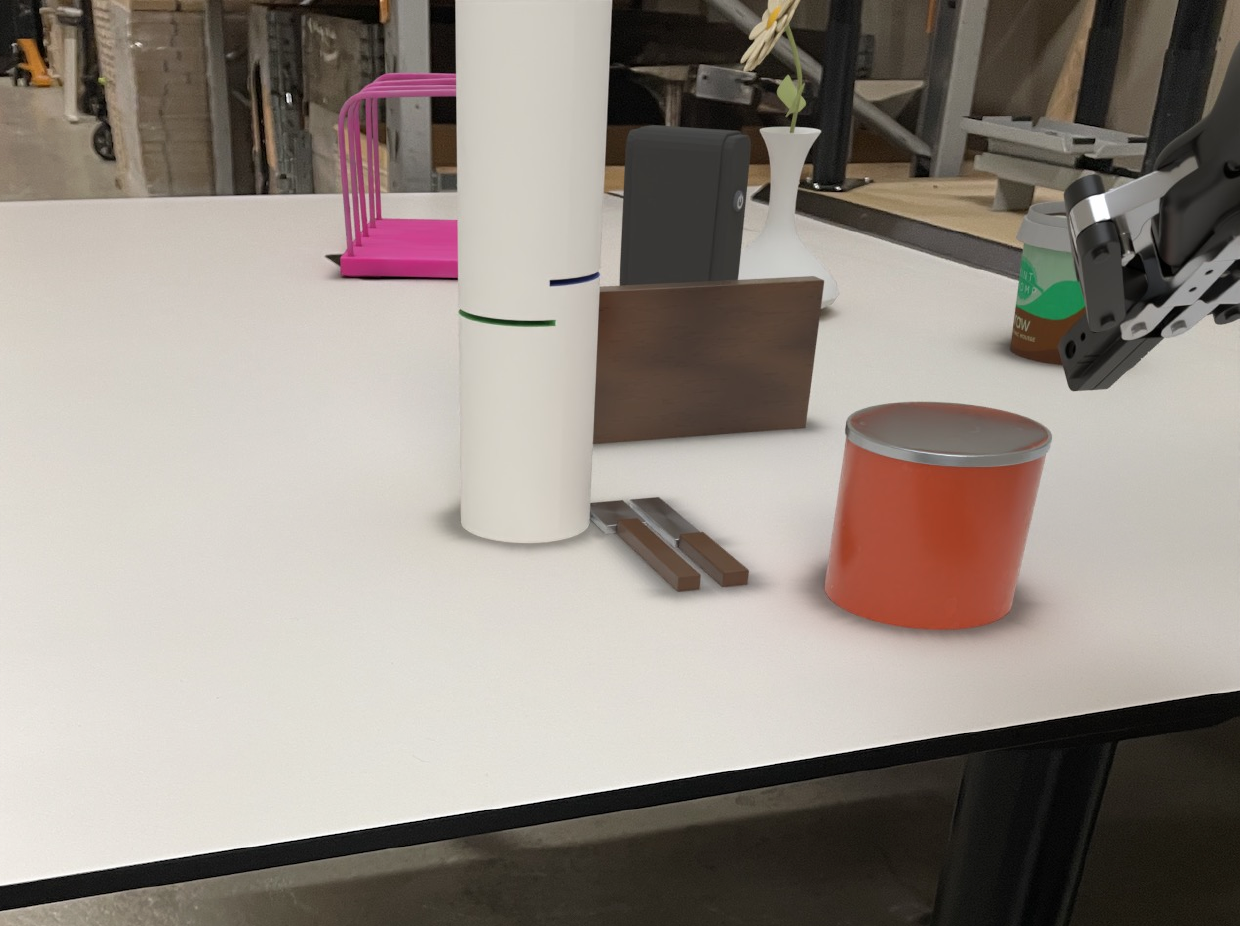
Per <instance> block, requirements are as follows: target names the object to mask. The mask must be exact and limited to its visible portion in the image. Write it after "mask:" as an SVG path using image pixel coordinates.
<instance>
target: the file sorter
mask: <svg viewBox="0 0 1240 926" xmlns="http://www.w3.org/2000/svg"><path fill="white" fill-rule="evenodd" d="M418 97H419V98H422V97H423V98H427V97H428V98H429V97H433V98H434V97H456V73H439V72H438V73H437V72H434V73H433V72H391V73H390V72H387V73H384V74H382V75H380V76H379V77H377V78H376V79H374V80H373V82H371V83H369V84H367V85H365V86H364V87H363V88H362V89H361V90H360V91H359V92H357V93H355V94H353V95H352V96H350V97H349V98H348V99H347V100H346V101H345V102H344V103H343V105H342V106H341V109H340V112H339V115H338V119H337V132H338V148H339V162H340V163H339V164H340V175H341V177H340V178H341V188H342V201H343V202H342V203H343V212H344V213H343V214H344V227H345V238H346V239H345V240H346V250H345V251H344V252H343V253H342V255H341V256H340V258H339V259H340V260H339V261H340V275H341V276H346V277H351V278H353V277H354V278H382V277H402V278H403V277H407V278H409V277H411V278H450V279H451V278H453V279H458V219H439V218H437V219H435V218H432V219H431V218H386V217H384V218H383V217H382V197H381V174H380V149H379V120H378V101H379V99H385V98H386V99H389V98H390V99H391V98H418ZM363 100H365V129H366V130H365V131H366V134H365V135H366V160H367V163H366V164H367V183H368V185H367V188H368V205H369V206H368V207H369V208H368V209H369V210H368V211H369V221H368V214H367V202H366V191H365V178H364V166H363V156H362V141H361V127H360V107H361V102H362V101H363ZM346 115H347V122H346V123H347V141H348V155H349V157H348V158H349V170H350V183H351V184H350V185H351V201H352V213H353V215H351V203H350V192H349V180H348V179H349V177H348V164H347V151H346V134H345V120H346ZM351 216H353V226H354V227H353V228H354V240H353V229H352V217H351ZM360 219H361V220H360ZM361 229H362V230H361Z"/></svg>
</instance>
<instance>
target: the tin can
mask: <svg viewBox="0 0 1240 926" xmlns="http://www.w3.org/2000/svg"><path fill="white" fill-rule="evenodd" d="M844 427H845V428H844V434H845V443H844V450H843V456H842V462H841V470H840V478H839V483H838V491H837V498H836V503H835V511H834V518H833V526H832V531H831V539H830V547H829V553H828V560H827V567H826V575H825V581H824V591H825V594H826V596H827V597H828V598H829V600H830V601H831V602H833V604H835V605H836V606H838V607H839V608H841V609H843V610H844V611H847V612H848V613H850V614H853V615H855V616H858V617H861V618H863V619H866V620H870V621H872V622H875V623H876V622H877V623H881V624H886V625H890V626H896V627H902V628H910V629H918V630H932V631H933V630H935V631H936V630H937V631H938V630H940V631H943V630H945V631H946V630H947V631H948V630H949V631H950V630H962V629H971V628H977V627H982V626H985V625H988V624H992V623H995V622H997V621H999V620H1001V619H1002V618H1004V617H1005V616H1006V615H1007V614H1008V613H1010V611H1011V609H1012V608H1013V607H1012V606H1013V602H1014V598H1015V593H1016V589H1017V585H1018V580H1019V576H1020V572H1021V566H1022V564H1023V563H1022V562H1023V558H1024V554H1025V550H1026V545H1027V540H1028V537H1029V533H1030V529H1031V524H1032V518H1033V515H1034V510H1035V505H1036V501H1037V498H1038V493H1039V487H1040V483H1041V480H1042V475H1043V470H1044V467H1045V463H1046V462H1045V461H1046V458H1047V453H1049V451H1050V449H1051V447H1052V446H1051V445H1052V441H1053V434H1052V432H1051V430H1050V429H1049V428H1048V427H1046V426H1045V425H1044V424H1042V423H1040V422H1039V421H1036V420H1034V419H1032V418H1030V417H1027V416H1024V415H1021V414H1019V413H1015V412H1011V411H1008V410H1004V409H999V408H993V407H989V406H982V405H975V404H969V403H960V402H959V403H957V402H945V401H901V402H890V403H883V404H877V405H872V406H868V407H865V408H864V407H863V408H861V409H858V410H856V411H854V412H852V413H851V414H850V415H848V417H847V418H846V422H845V426H844Z"/></svg>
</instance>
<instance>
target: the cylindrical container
mask: <svg viewBox="0 0 1240 926" xmlns="http://www.w3.org/2000/svg"><path fill="white" fill-rule="evenodd" d="M454 2H455V74H456V96H455V97H456V100H455V101H456V102H455V103H456V105H455V106H456V111H455V112H456V198H457V207H456V208H457V209H456V212H457V213H456V214H457V220H458V278H457V289H458V290H457V293H458V294H457V295H458V296H457V299H458V300H457V302H458V303H457V305H458V308H459V310H458V312H457V313H458V314H457V316H458V389H459V390H458V392H459V393H458V395H459V397H458V399H459V401H458V403H459V474H460V476H459V480H460V482H459V483H460V485H459V486H460V491H459V492H460V525H461V526H462V529H465V530H466V531H467V532H468V533H470V534H473V535H474V536H478V537H480V538H483V539H487V540H492V541H496V542H503V543H513V544H514V543H516V544H540V543H551V542H557V541H563V540H566V539H570V538H572V537H575V536H578V535H580V534H582V533H584V532H585V531H586V530H587V529H588V528H589V526H590V522H591V521H590V520H591V519H590V503H591V498H592V495H591V494H592V475H593V474H592V473H593V451H594V450H593V449H594V444H593V429H594V406H595V383H596V360H597V337H598V315H599V292H600V287H601V273H600V272H599V271H600V270H601V268H602V267H601V266H602V265H601V264H602V245H603V241H602V240H603V238H602V237H603V222H604V221H603V218H604V199H605V173H606V172H605V171H606V154H607V153H606V152H607V149H606V148H607V129H608V107H609V106H608V105H609V82H610V57H611V36H612V15H613V13H612V10H613V0H454Z"/></svg>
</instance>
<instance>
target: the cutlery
mask: <svg viewBox="0 0 1240 926" xmlns="http://www.w3.org/2000/svg"><path fill="white" fill-rule="evenodd" d="M590 520H591V521H592V522H593V523H594V524H595V525H596V526H597V527H598V529H600V530H601V531H602V532H603V533H604V534H605V535H609V534H611V535H612V534H616V535H618V536H619V537H620V538H621V539H622V541H624V542H625V543H626V545H628V547H630V548H631V549H632V550H633V551H634V552H635V553H636V554H637V555H638V556H640V558H641V559H643V560H644V562H646V563H647V564H648V565H649V566H650V567H651V568H652V570H654V571H655V572H656V573H657V574H658V575H659V576H660V577H661V578H663V579H664V580H665V581H666V582H667V584H668V585H670V586H671V587H672V588H673V589H674V590H675V591H676V592H678V593H679V592H688V591H697V590H700V589H701V588H700V587H701V577H702V576H701V574H700V573H699V572H698V570H696V569H695V568H693V566H691V564H689V563H688V562H687V561H686V560H685V559H684V558H683V557H681V556H680V555H679V554H678V553H677V552H676V551H675V550H674V549H672V548H678V549H679V550H680V551H681V552H682V553H684V554H685V555H686V557H688V558H689V559H690V560H692V561H693V562H694V563H695V564H696V565H697V566H698V567H699V568H700V569H702V570H703V571H704V572H705V573H706V574H707V575H708V576H710V578H712V579H713V580H714V581H715V582H716V583H717V584H719V585H720V586H721V587H722V588H727V587H736V586H746V585H748V583H749V575H750V570H749V569H748V568H747V567H746V566H744V565H743V563H741V562H740V561H739V560H737V559H736V558H735V557H734V556H732V555H731V554H730V553H729V552H728V551H727V550H725V549H724V548H723V547H722V546H721V545H720V544H719V543H717V542H716V541H715V540H714V539H712V538H711V537H710V536H709V535H708V534H706V533H705V532H704V531H700V530H699V529H697V527H695V526H694V524H691V522H690V521H688V520H686V518H684V517H683V516H682V515H681V514H680V513H678V512H677V511H676V510H675V509H674V508H673V507H671V506H670V505H669V504H668V503H666V501H664V500H663V499H662V498H661V497H660V496H655V497H645V498H644V497H643V498H635V499H634V498H632V499H629V504H628V503H627V502H625V501H624V500H623V499H619V500H607V501H606V500H605V501H596V502H595V501H594V502H590ZM648 526H649V527H650V528H652V529H650V528H649V527H648ZM652 530H654V531H655V532H656V533H657V534H658V535H657V534H656V533H655V532H654V531H652ZM659 536H661V537H662V539H664V540H665V541H666V542H667V543H668V544H669V545H670V546H669V545H668V544H667V543H666V542H665V541H663V540H662V539H661V538H660V537H659ZM671 546H672V548H671Z"/></svg>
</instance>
